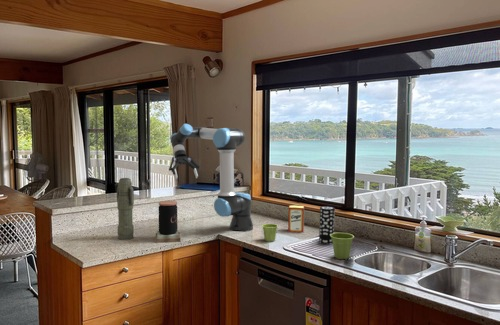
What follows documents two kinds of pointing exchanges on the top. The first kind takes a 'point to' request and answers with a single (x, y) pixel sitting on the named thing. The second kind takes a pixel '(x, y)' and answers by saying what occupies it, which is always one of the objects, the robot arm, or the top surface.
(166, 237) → the plinth
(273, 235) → the plant pot
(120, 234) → the thermos
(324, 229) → the spotted tube
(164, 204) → the coffee jar
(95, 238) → the top surface
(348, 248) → the plant pot
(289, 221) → the baking soda box
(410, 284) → the top surface
